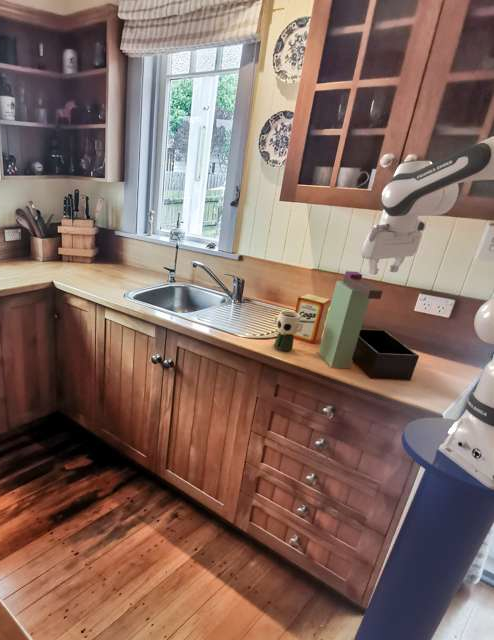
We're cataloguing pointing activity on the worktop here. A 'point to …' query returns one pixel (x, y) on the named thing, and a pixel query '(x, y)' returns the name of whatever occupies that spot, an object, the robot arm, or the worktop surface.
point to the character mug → (287, 329)
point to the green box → (343, 325)
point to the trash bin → (383, 356)
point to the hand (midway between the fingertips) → (383, 273)
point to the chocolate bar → (361, 285)
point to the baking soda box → (311, 317)
